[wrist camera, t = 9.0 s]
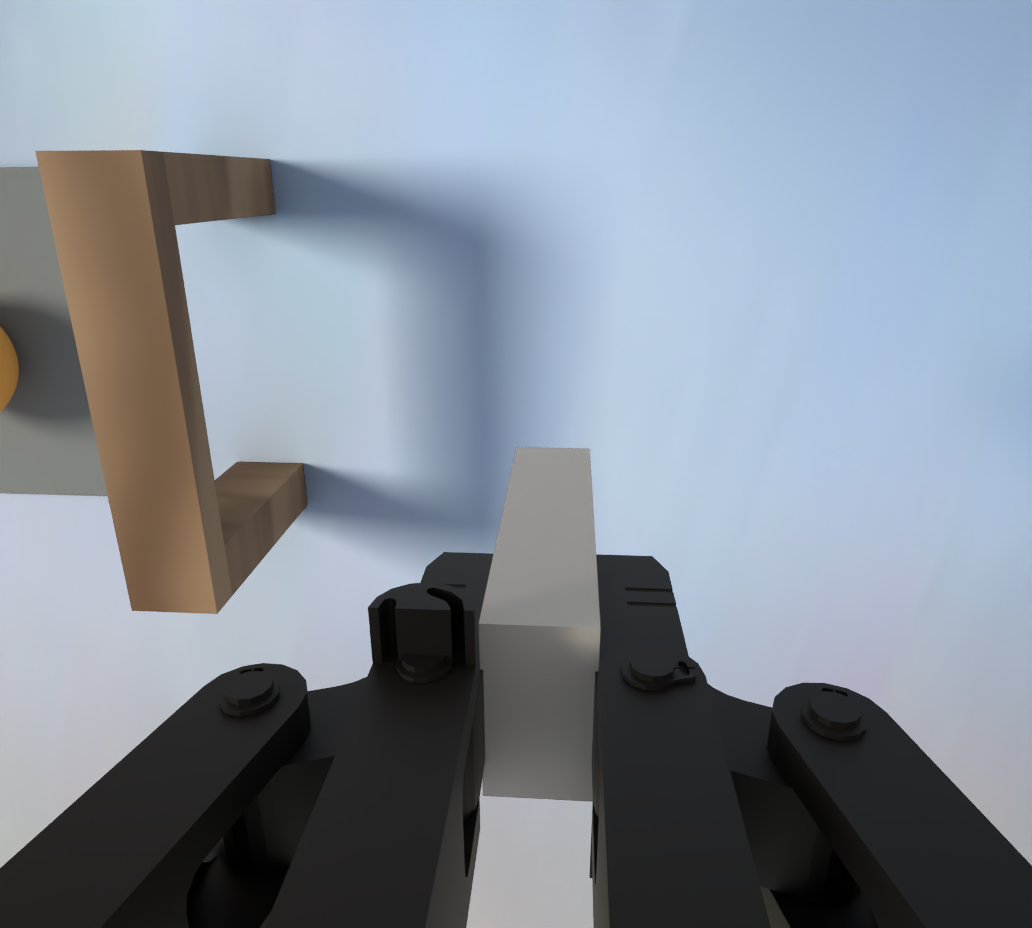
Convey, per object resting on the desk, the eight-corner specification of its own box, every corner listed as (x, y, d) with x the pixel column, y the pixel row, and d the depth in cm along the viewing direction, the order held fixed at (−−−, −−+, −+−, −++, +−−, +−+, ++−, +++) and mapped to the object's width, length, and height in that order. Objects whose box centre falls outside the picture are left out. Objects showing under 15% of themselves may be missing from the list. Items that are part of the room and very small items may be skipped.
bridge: (243, 502, 34) (131, 610, 26) (194, 159, 29) (35, 151, 21) (307, 504, 34) (217, 614, 26) (269, 159, 29) (140, 150, 20)
